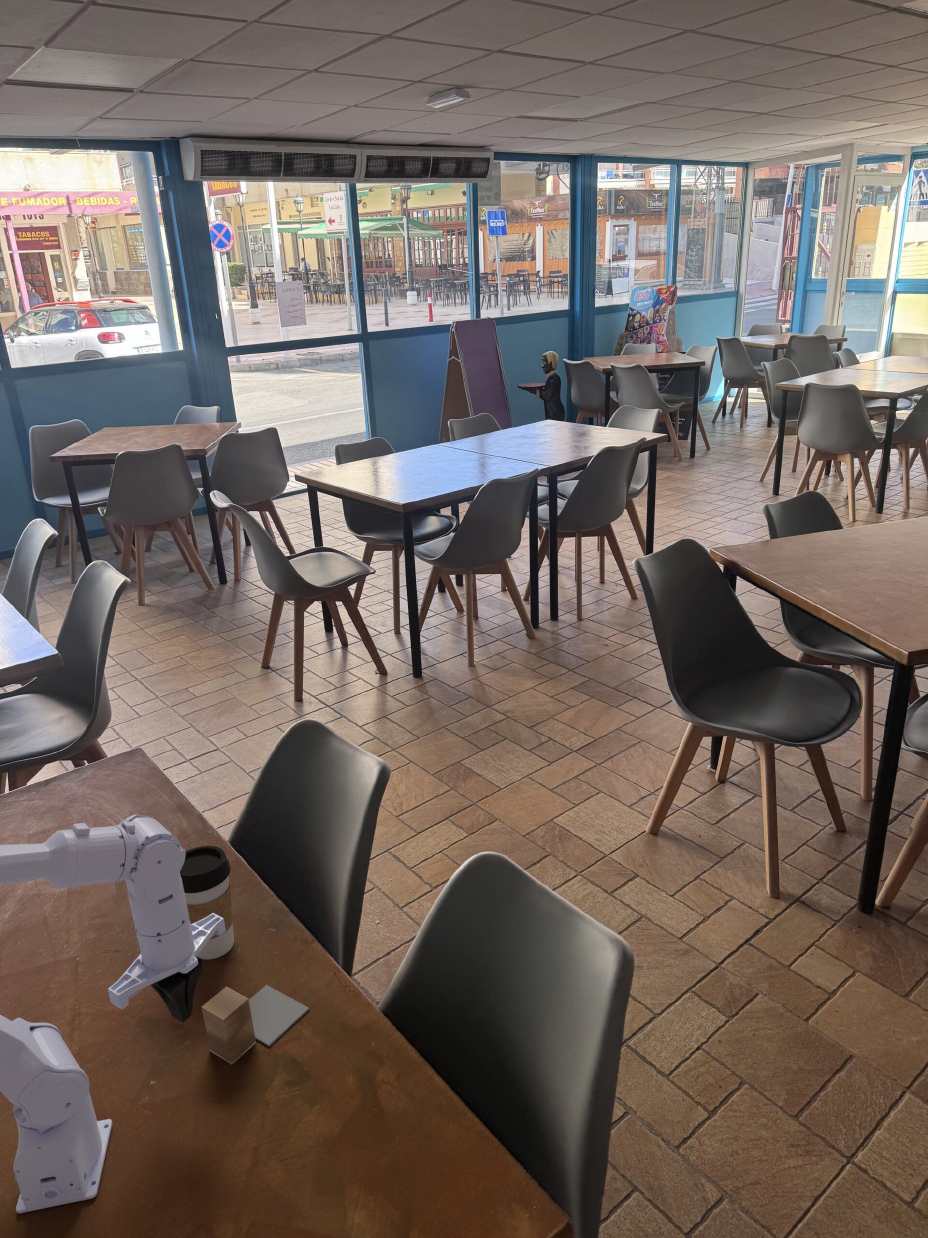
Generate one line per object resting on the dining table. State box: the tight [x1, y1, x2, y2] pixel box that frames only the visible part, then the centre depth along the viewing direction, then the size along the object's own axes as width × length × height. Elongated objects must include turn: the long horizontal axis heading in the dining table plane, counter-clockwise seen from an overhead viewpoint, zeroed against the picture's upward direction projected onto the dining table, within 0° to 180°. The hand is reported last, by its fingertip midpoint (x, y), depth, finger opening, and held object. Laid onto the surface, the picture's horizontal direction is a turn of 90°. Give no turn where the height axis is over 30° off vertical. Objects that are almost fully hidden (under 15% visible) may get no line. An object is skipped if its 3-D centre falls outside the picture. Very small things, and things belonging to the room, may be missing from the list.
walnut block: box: [201, 986, 257, 1065], centre depth 109 cm, size 4×4×7 cm
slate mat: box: [248, 984, 310, 1048], centre depth 115 cm, size 7×8×1 cm
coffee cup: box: [180, 845, 235, 960], centre depth 126 cm, size 8×8×15 cm
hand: (181, 1015), depth 102 cm, fingers closed
